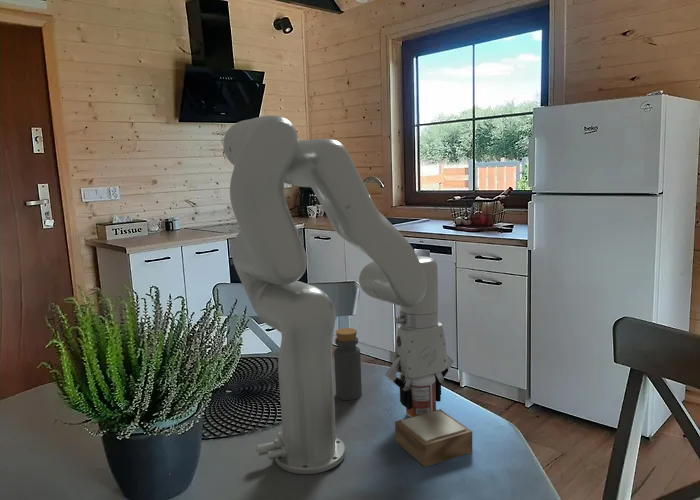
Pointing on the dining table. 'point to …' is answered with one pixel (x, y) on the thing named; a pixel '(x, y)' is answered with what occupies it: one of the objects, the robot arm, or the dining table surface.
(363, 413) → the dining table surface
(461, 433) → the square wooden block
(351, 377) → the bottle
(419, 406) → the pill bottle
